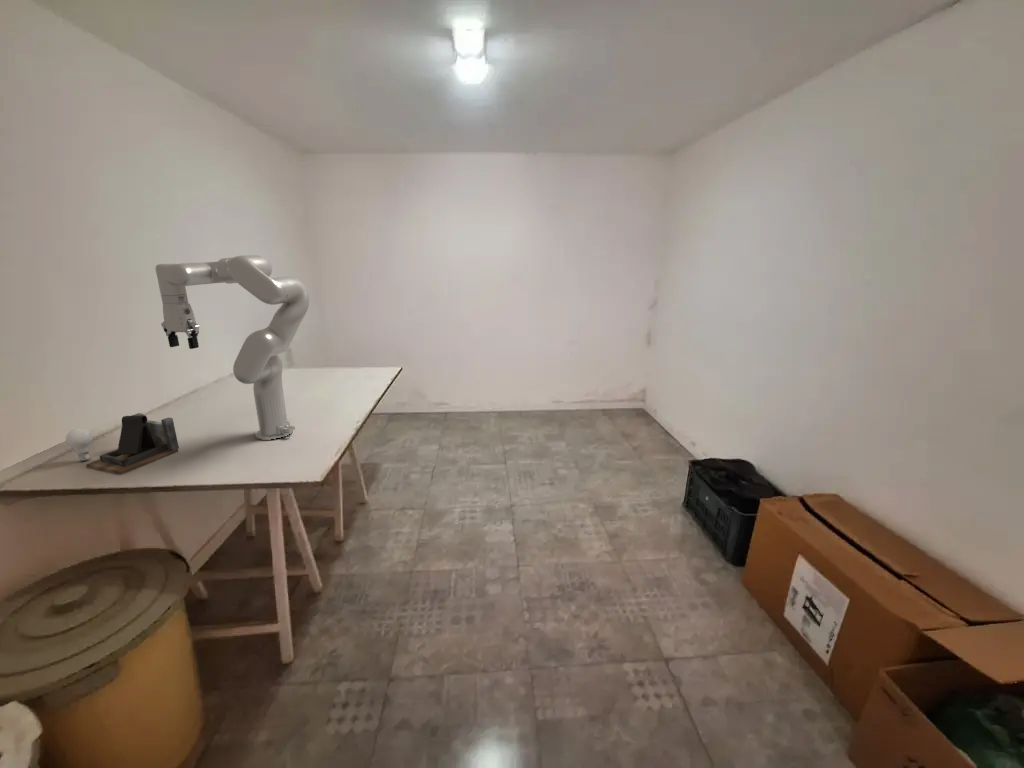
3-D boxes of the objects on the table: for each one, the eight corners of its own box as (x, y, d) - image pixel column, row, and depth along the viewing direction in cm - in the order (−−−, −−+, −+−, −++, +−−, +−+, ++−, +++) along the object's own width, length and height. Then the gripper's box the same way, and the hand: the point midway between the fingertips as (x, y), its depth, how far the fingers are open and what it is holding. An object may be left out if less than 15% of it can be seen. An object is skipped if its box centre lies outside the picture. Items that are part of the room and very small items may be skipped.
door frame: (179, 451, 160) (172, 418, 157) (121, 474, 143) (112, 438, 140) (146, 445, 165) (139, 413, 162) (86, 467, 148) (77, 431, 145)
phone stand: (136, 454, 150) (133, 417, 149) (116, 455, 150) (114, 417, 149) (155, 448, 159) (153, 413, 158) (137, 449, 158) (134, 414, 158)
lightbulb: (71, 460, 153) (62, 429, 150) (97, 454, 157) (88, 424, 154) (72, 466, 148) (63, 434, 145) (98, 460, 153) (90, 429, 150)
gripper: (202, 299, 166) (211, 346, 170) (167, 298, 171) (177, 344, 176) (182, 301, 159) (192, 351, 163) (146, 300, 164) (157, 347, 169)
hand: (184, 347), depth 170 cm, fingers open, 9 cm apart
